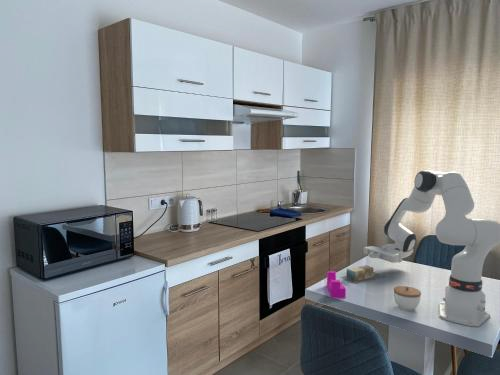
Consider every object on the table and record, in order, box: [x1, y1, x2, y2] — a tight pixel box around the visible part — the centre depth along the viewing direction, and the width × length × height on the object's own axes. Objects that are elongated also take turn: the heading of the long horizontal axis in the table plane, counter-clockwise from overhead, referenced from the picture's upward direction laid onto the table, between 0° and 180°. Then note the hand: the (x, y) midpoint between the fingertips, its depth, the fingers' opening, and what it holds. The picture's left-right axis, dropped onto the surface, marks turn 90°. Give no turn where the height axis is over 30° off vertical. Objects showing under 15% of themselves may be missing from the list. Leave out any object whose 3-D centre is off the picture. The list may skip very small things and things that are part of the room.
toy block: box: [326, 270, 347, 299], centre depth 179 cm, size 15×6×8 cm, turn 176°
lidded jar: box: [393, 285, 422, 312], centre depth 161 cm, size 11×11×9 cm
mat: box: [340, 271, 387, 285], centre depth 198 cm, size 22×11×1 cm, turn 120°
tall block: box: [345, 264, 374, 281], centre depth 197 cm, size 5×5×14 cm
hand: (370, 255), depth 200 cm, fingers closed
